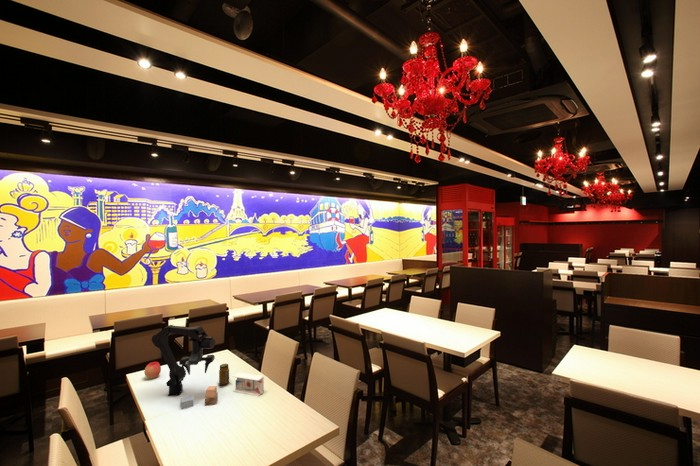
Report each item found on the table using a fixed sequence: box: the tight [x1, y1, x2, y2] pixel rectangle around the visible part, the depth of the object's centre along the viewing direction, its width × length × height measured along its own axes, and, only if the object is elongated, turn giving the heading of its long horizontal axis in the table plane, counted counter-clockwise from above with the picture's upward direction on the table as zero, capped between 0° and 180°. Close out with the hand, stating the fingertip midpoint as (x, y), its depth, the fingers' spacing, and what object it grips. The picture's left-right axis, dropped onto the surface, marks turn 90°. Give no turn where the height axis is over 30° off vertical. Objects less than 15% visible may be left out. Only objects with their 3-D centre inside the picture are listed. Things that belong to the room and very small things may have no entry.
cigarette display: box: [232, 372, 265, 397], centre depth 191 cm, size 20×6×9 cm, turn 72°
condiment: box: [216, 363, 233, 388], centre depth 201 cm, size 7×8×12 cm
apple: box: [143, 361, 162, 380], centre depth 212 cm, size 10×10×10 cm
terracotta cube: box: [205, 385, 218, 398], centre depth 179 cm, size 4×4×4 cm
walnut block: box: [204, 392, 219, 406], centre depth 179 cm, size 6×6×4 cm
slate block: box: [179, 394, 194, 410], centre depth 176 cm, size 6×6×4 cm
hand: (197, 373), depth 188 cm, fingers open, 9 cm apart
